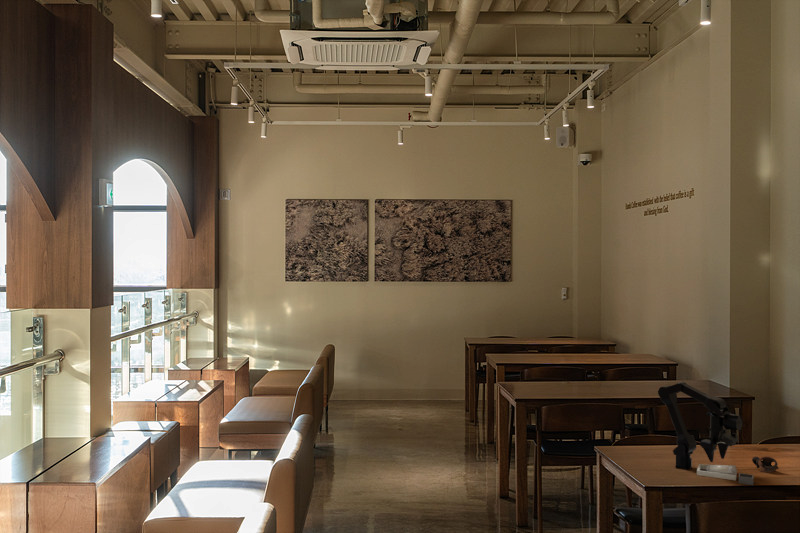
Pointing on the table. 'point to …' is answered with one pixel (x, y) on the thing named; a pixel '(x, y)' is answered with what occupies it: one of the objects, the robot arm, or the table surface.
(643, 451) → the table surface
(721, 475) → the parts tray
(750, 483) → the fuse holder
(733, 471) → the fuse
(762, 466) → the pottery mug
